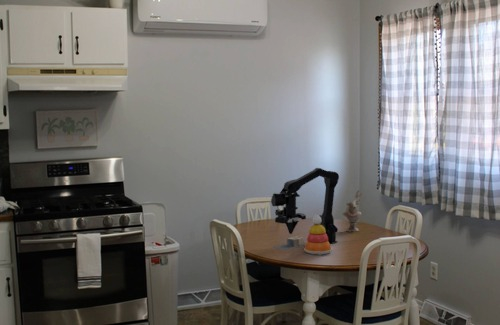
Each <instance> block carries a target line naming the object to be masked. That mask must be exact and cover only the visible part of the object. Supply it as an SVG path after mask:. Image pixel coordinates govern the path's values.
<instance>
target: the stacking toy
mask: <svg viewBox="0 0 500 325" xmlns="http://www.w3.org/2000/svg"><path fill="white" fill-rule="evenodd" d="M319 215H320V214H319ZM319 215H318V214H314V216H313V217H312V223H313V224H312V225H311V226H310V228H309V230H308V235H307V239H306V240H307V242H305V243H306V245H305V247H304V248H303V249H304V251H305V253H306V254H307V253H308V254H310V255H318V256H322V255H326V254H329V253H331V252H332V250H333V248H332V246H331V244H330V243H329V242H328V236H327V234H326V230H325V228H324V227H323V226H322V225H320V223H321V221H322V220H321V217H320V216H319Z"/></svg>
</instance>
